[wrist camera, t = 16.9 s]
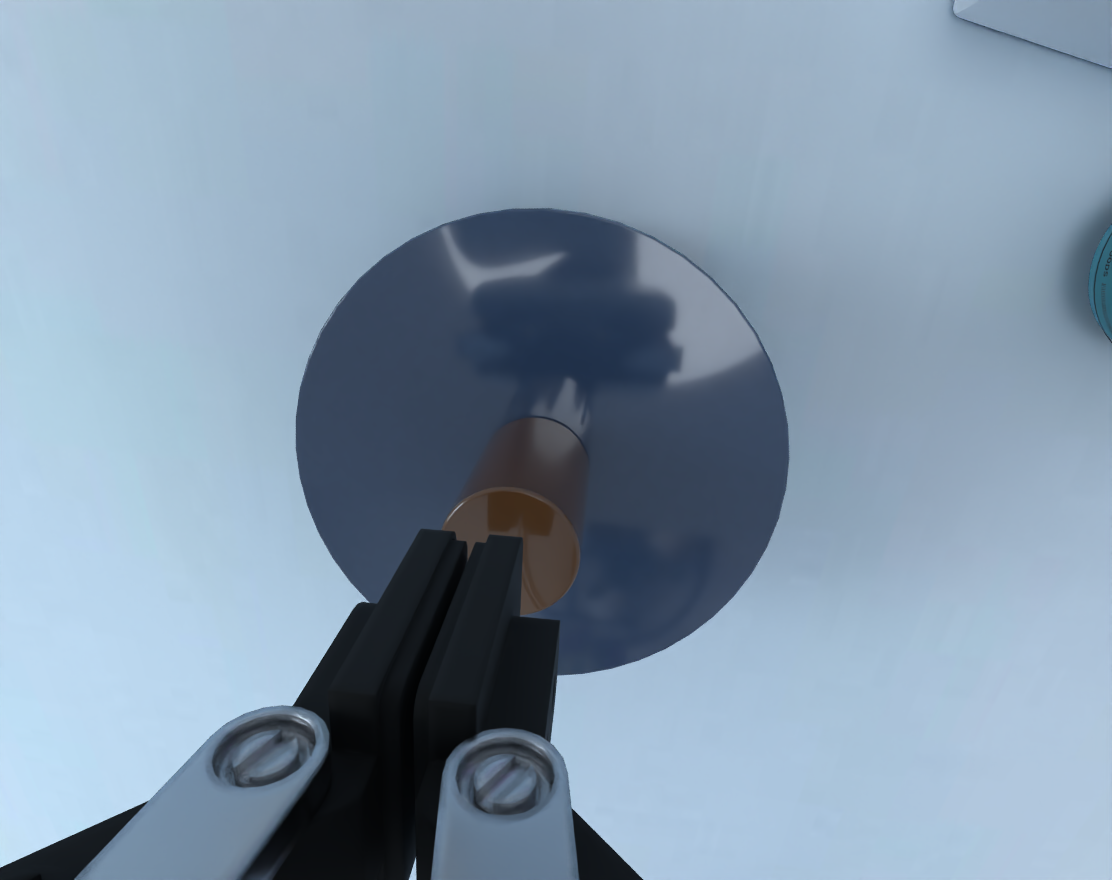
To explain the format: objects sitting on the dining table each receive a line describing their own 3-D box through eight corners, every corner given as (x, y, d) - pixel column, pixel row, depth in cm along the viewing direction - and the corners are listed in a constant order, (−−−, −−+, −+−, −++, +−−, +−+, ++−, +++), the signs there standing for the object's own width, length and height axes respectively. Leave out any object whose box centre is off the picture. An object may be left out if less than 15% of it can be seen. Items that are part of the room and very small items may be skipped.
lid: (219, 428, 21) (66, 514, 15) (558, 87, 17) (528, 26, 11) (525, 724, 23) (495, 895, 18) (879, 483, 20) (988, 599, 14)
